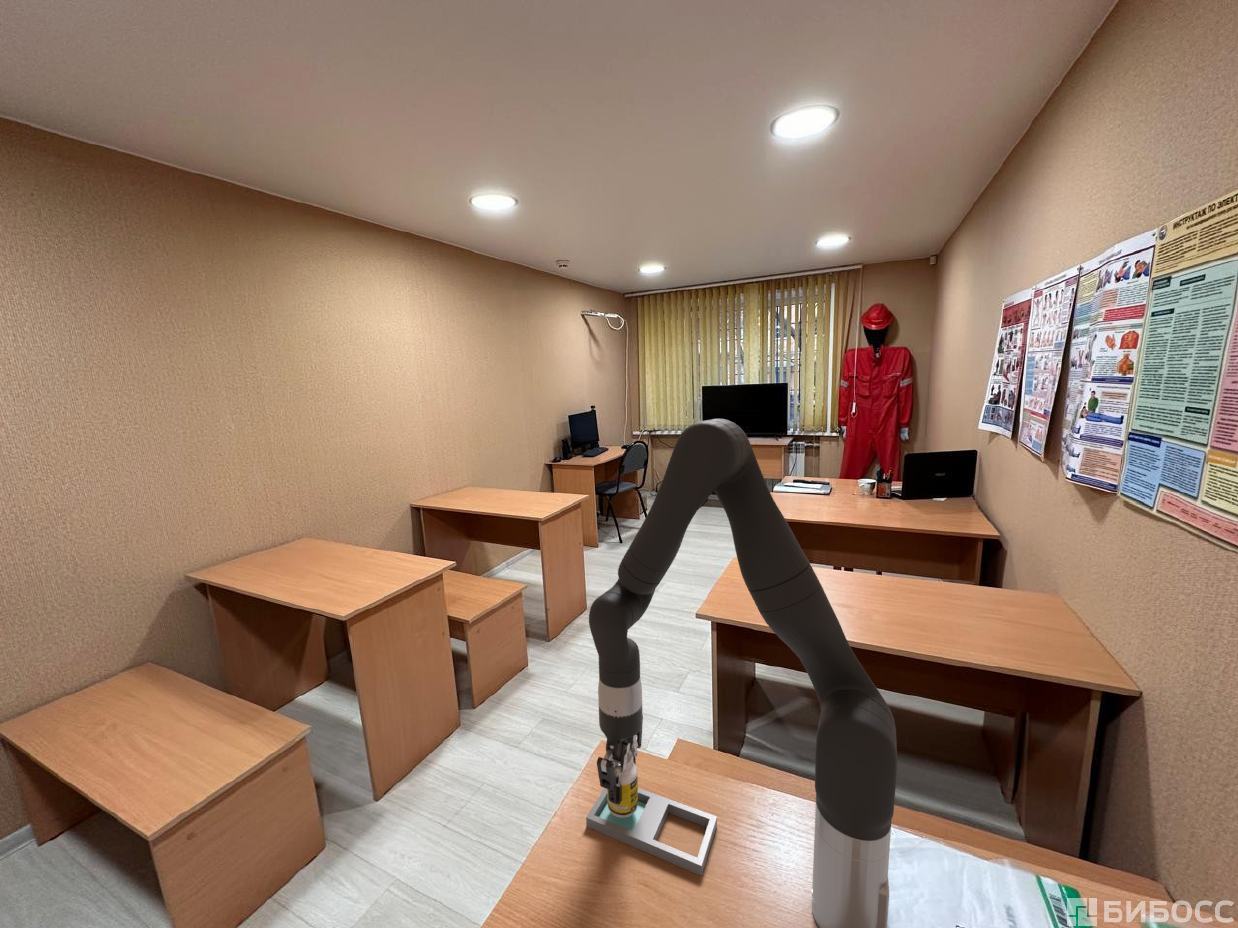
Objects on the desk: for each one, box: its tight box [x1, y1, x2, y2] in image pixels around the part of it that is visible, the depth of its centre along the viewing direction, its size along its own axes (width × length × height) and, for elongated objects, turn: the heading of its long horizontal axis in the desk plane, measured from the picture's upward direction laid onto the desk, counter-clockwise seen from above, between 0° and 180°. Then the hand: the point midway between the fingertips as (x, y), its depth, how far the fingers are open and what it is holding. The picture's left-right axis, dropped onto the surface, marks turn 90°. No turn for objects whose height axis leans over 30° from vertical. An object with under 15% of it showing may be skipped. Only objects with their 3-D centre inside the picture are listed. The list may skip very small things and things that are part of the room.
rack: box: [585, 787, 718, 877], centre depth 82 cm, size 20×10×2 cm, turn 64°
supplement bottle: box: [607, 751, 639, 818], centre depth 83 cm, size 5×5×10 cm
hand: (622, 787), depth 83 cm, fingers closed on supplement bottle, 5 cm apart
